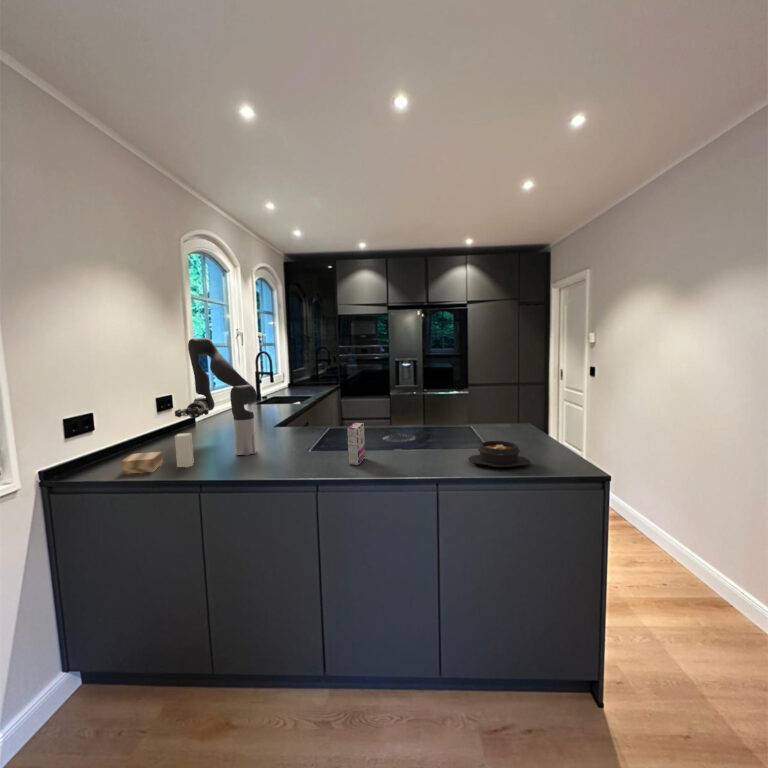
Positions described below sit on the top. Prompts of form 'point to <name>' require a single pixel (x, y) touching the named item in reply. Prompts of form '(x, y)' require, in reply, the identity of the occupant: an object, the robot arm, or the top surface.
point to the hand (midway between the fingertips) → (188, 414)
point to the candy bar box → (356, 442)
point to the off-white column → (184, 450)
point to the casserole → (498, 455)
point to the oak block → (141, 462)
